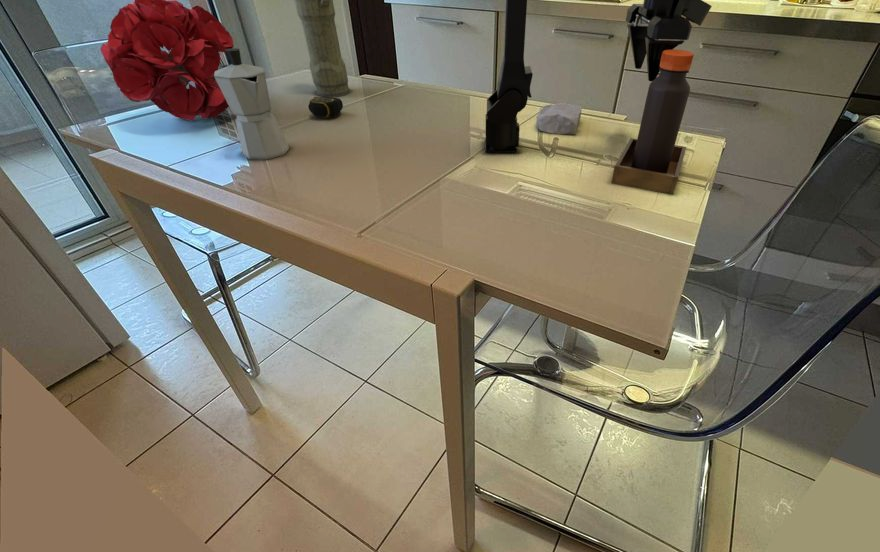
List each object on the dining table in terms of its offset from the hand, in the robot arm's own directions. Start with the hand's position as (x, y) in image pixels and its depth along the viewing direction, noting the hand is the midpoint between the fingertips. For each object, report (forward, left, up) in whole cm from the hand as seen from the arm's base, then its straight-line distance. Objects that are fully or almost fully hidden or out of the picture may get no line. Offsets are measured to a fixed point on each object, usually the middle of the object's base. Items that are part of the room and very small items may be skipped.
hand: (644, 74), depth 84 cm
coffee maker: (-75, -2, -15) cm, 77 cm away
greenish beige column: (-71, +39, -15) cm, 83 cm away
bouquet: (-96, +20, -15) cm, 99 cm away
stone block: (-13, +14, -15) cm, 24 cm away
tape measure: (-68, +20, -15) cm, 73 cm away
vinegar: (+1, -12, -14) cm, 18 cm away
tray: (+1, -12, -14) cm, 18 cm away
